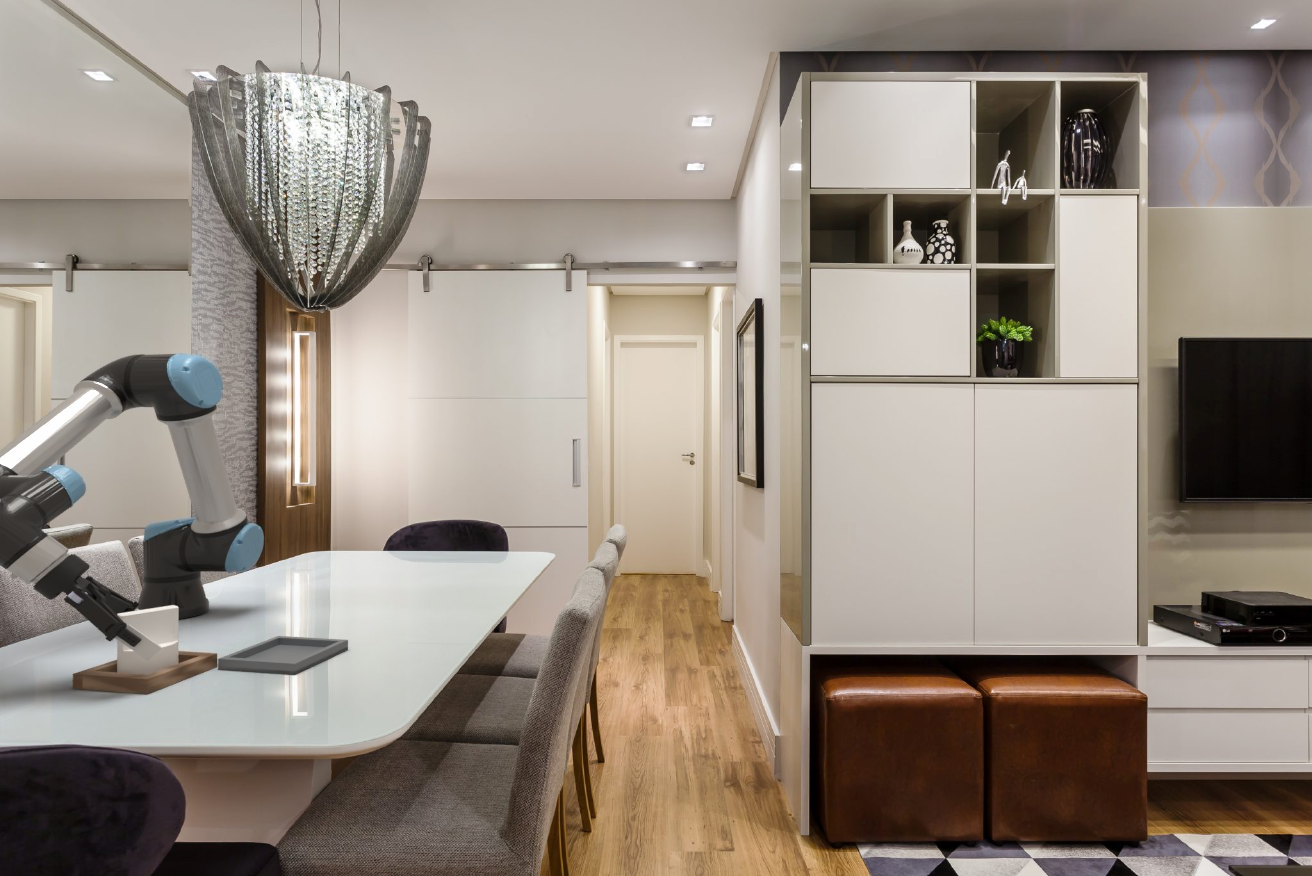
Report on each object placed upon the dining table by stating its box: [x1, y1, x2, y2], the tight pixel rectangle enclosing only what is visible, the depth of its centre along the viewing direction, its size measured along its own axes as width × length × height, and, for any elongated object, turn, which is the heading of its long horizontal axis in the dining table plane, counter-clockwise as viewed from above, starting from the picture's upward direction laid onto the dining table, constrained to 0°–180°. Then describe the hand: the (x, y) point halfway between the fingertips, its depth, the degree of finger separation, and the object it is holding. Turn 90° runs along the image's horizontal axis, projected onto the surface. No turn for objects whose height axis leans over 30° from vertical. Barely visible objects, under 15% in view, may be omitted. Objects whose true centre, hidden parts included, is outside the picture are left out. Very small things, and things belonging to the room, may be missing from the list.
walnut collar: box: [72, 650, 218, 695], centre depth 130 cm, size 15×15×2 cm
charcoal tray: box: [217, 635, 349, 676], centre depth 141 cm, size 16×16×2 cm
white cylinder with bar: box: [116, 605, 179, 675], centre depth 130 cm, size 9×9×12 cm
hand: (158, 644), depth 131 cm, fingers open, 13 cm apart
